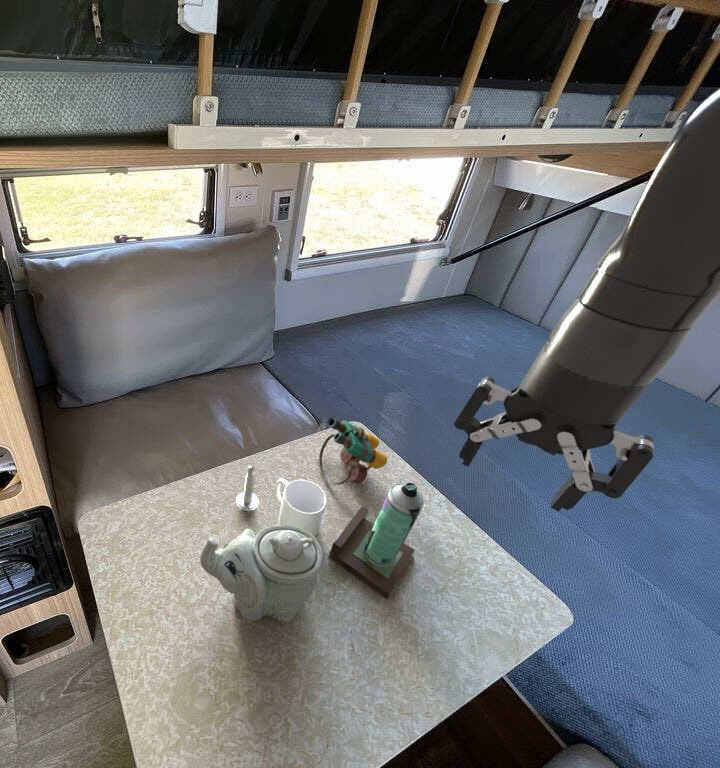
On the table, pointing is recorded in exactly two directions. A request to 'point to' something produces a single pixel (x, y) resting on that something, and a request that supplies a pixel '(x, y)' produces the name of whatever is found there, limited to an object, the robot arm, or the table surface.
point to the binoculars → (354, 450)
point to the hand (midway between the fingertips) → (509, 482)
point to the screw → (248, 493)
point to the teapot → (266, 570)
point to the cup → (301, 504)
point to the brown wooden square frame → (353, 558)
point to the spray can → (393, 524)
